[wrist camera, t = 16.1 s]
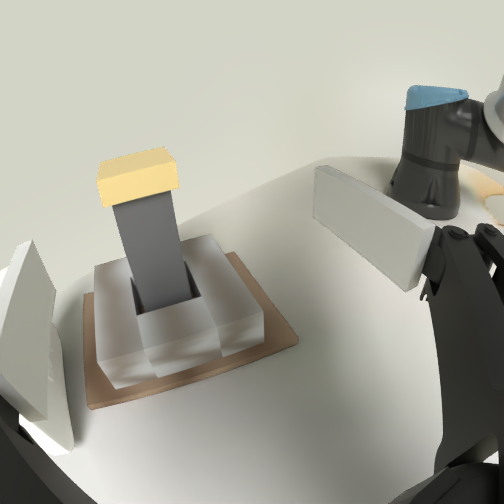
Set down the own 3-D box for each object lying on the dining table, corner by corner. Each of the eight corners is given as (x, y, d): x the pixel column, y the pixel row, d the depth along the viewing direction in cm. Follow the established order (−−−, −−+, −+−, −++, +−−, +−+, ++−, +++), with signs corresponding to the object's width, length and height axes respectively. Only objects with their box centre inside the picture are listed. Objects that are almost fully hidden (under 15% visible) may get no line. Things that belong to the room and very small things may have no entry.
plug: (190, 292, 33) (163, 146, 24) (205, 326, 28) (175, 161, 20) (142, 306, 31) (100, 162, 22) (150, 343, 27) (96, 181, 18)
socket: (234, 256, 40) (231, 223, 37) (298, 343, 27) (301, 306, 25) (86, 299, 33) (72, 268, 31) (91, 410, 21) (65, 380, 18)
